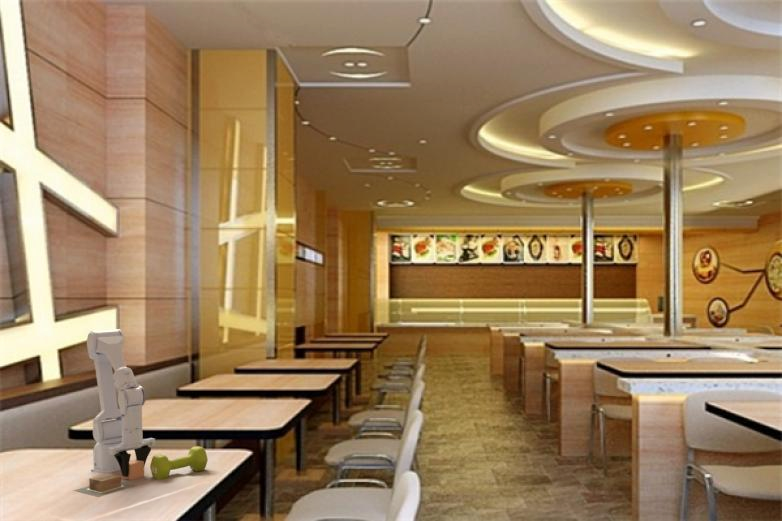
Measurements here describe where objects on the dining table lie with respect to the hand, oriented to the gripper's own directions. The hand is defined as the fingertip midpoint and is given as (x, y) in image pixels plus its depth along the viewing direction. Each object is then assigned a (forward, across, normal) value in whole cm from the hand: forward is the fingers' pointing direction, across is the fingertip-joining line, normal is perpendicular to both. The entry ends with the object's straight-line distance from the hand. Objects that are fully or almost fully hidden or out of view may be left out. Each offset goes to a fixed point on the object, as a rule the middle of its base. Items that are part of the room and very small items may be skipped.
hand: (132, 474), depth 203 cm
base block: (+1, -11, -3) cm, 11 cm away
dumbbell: (+2, +10, -9) cm, 13 cm away
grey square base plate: (+1, -11, -3) cm, 11 cm away
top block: (+1, 0, 0) cm, 1 cm away
